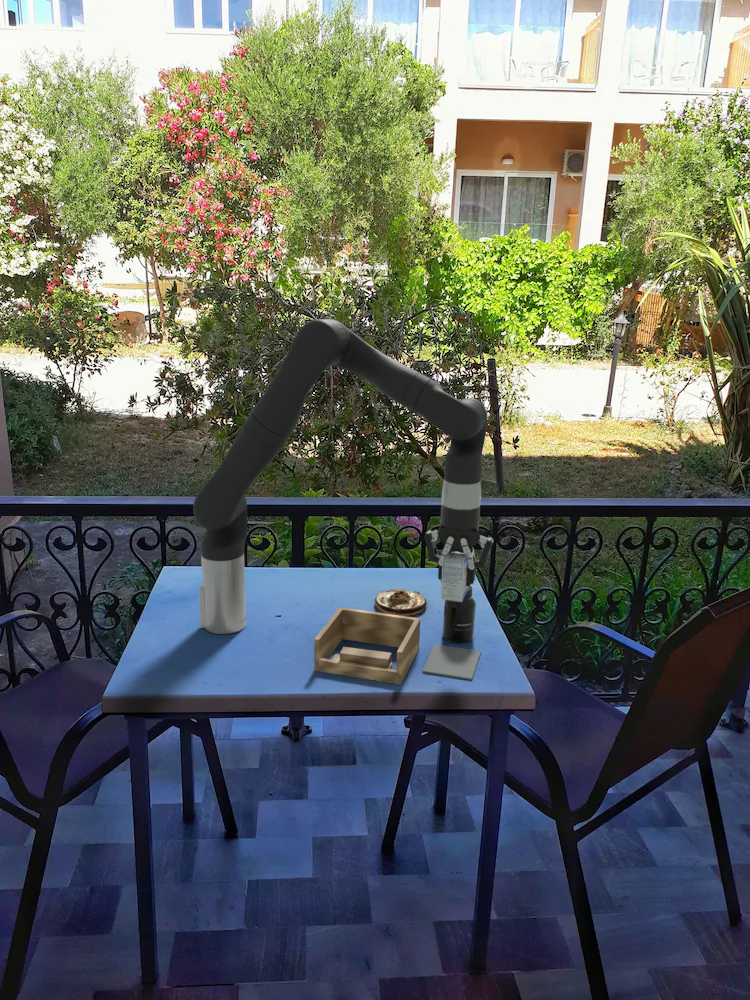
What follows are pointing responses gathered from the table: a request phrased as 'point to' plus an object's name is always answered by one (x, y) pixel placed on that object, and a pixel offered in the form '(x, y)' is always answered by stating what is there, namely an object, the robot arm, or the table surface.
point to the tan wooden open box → (370, 631)
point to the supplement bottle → (459, 619)
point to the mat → (452, 662)
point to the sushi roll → (400, 602)
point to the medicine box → (454, 577)
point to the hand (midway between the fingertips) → (456, 582)
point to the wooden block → (364, 657)
